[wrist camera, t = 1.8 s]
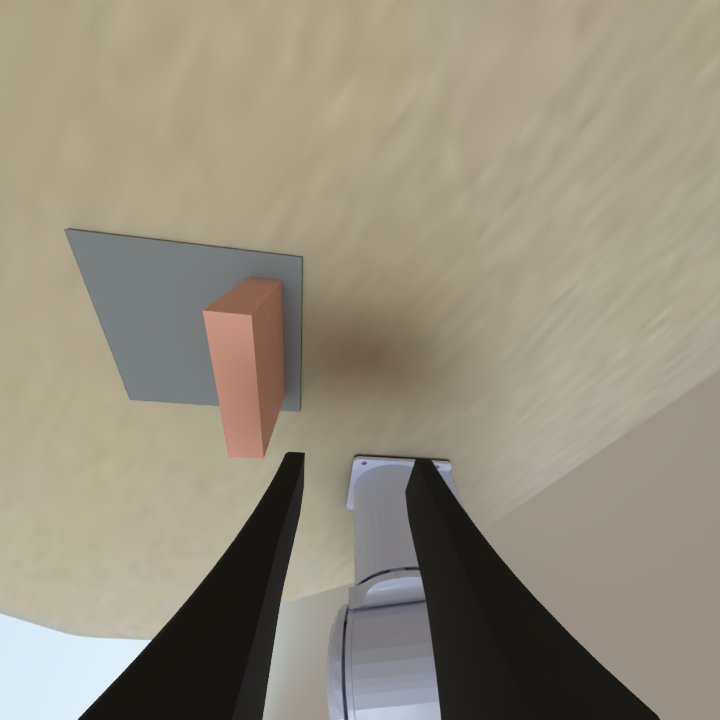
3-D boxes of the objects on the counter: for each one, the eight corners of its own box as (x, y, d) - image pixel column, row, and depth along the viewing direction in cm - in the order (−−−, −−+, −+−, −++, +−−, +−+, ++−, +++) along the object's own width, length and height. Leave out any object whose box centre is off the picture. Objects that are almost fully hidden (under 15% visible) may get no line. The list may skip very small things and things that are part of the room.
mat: (302, 256, 16) (301, 257, 16) (300, 409, 22) (299, 411, 22) (68, 228, 15) (64, 229, 15) (132, 397, 21) (129, 399, 21)
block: (281, 280, 17) (251, 315, 11) (284, 395, 21) (263, 458, 16) (248, 277, 16) (202, 310, 11) (258, 393, 21) (228, 456, 16)
